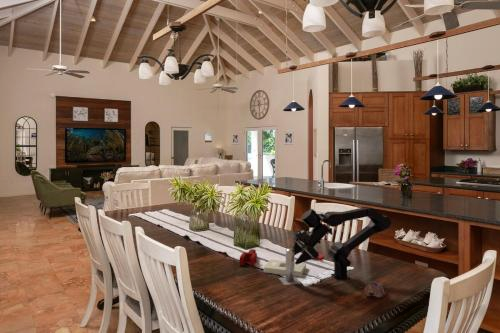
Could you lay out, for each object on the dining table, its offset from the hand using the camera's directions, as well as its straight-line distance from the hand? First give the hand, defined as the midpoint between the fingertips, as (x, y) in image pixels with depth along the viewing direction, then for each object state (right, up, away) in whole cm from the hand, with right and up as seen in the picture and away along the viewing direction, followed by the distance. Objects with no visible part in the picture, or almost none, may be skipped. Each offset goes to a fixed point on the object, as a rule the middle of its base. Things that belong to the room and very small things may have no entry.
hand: (292, 260), depth 156 cm
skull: (+32, -11, -14) cm, 37 cm away
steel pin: (-1, -9, 0) cm, 9 cm away
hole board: (-2, -8, +13) cm, 16 cm away
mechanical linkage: (-19, -8, +26) cm, 33 cm away
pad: (-1, -9, 0) cm, 9 cm away
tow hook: (+16, -7, +33) cm, 38 cm away
